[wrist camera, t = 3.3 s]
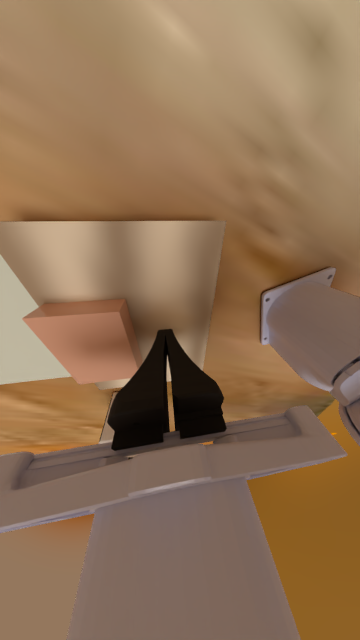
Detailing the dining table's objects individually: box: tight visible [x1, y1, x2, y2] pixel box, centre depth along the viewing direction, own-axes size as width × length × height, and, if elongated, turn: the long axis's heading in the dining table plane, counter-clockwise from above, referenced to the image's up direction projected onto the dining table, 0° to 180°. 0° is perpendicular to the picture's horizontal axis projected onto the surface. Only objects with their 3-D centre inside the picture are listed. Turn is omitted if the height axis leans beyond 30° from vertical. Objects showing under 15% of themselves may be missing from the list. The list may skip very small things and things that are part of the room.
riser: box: [0, 221, 226, 390], centre depth 14 cm, size 14×18×3 cm
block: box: [22, 299, 142, 384], centre depth 12 cm, size 6×8×2 cm
